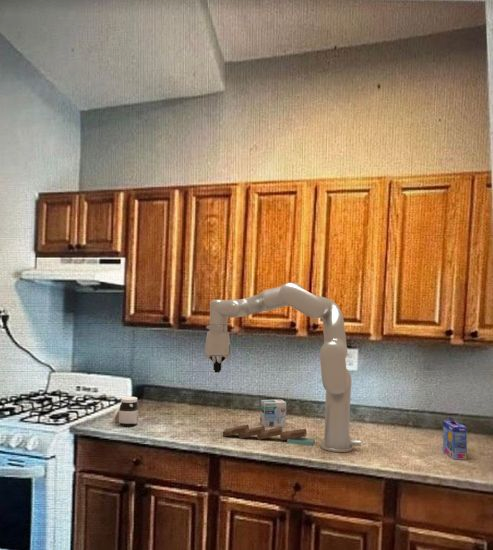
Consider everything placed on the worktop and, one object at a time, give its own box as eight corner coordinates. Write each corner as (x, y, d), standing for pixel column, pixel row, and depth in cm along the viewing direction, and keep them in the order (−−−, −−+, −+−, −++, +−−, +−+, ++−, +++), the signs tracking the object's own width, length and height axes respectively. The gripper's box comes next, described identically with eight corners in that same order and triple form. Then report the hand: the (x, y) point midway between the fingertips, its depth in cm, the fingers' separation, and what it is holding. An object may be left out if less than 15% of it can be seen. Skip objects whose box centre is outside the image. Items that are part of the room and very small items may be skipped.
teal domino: (289, 441, 211) (313, 443, 208) (287, 444, 206) (312, 447, 203) (289, 436, 211) (314, 438, 208) (287, 439, 206) (312, 442, 203)
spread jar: (134, 428, 221) (135, 400, 221) (108, 427, 221) (109, 399, 221) (140, 421, 233) (141, 395, 233) (115, 420, 233) (116, 394, 233)
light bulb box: (263, 427, 229) (264, 402, 230) (259, 423, 236) (260, 399, 236) (286, 426, 232) (287, 402, 232) (281, 422, 239) (282, 399, 239)
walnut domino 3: (259, 436, 213) (282, 431, 212) (258, 439, 209) (282, 434, 208) (258, 432, 214) (281, 426, 213) (256, 434, 209) (280, 429, 208)
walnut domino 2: (242, 435, 215) (265, 430, 213) (239, 438, 210) (262, 433, 208) (241, 430, 215) (263, 425, 213) (238, 433, 210) (261, 428, 208)
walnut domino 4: (283, 436, 212) (306, 433, 210) (281, 440, 207) (305, 436, 205) (282, 431, 212) (305, 428, 210) (280, 435, 207) (304, 431, 205)
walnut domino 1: (227, 433, 216) (249, 429, 214) (223, 436, 212) (246, 432, 209) (225, 428, 217) (248, 424, 214) (222, 432, 212) (245, 427, 209)
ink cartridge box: (441, 451, 201) (442, 414, 202) (455, 451, 202) (456, 414, 202) (452, 459, 192) (453, 420, 192) (467, 460, 192) (468, 420, 192)
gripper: (198, 328, 217) (197, 372, 216) (233, 329, 214) (232, 374, 213) (204, 327, 224) (202, 370, 224) (237, 328, 221) (236, 371, 220)
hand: (217, 372), depth 218 cm, fingers closed
